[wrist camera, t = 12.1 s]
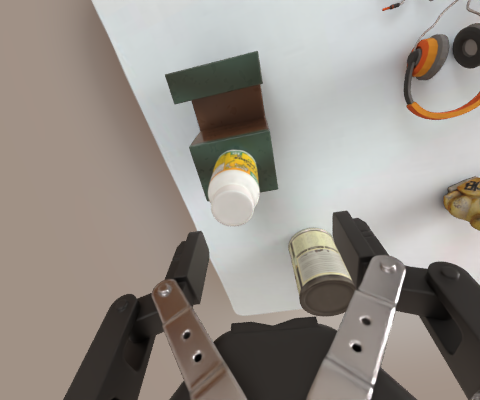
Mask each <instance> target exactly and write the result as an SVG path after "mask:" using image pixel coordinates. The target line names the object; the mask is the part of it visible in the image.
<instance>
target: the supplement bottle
mask: <svg viewBox="0 0 480 400" xmlns="http://www.w3.org/2000/svg"><path fill="white" fill-rule="evenodd" d="M259 194H260V190H259V183H258V173H257V166H256V162H255V160H254V159H253V157H252V156H251V155H250V154H248V153H247V152H245V151H242V150H229V151H226V152H224V153H223V154H222V155H221V156H220V157H219V158H218V160H217V161H216V164H215V167H214V170H213V174H212V177H211V181H210V184H209V188H208V198H209V201H210V203H211V211H212V214H213V216H214V217H215V219H216V220H217V221H218V222H220V223H222V224H224V225H227V226H239V225H242V224H244V223H246V222H248V221H249V220H250V218H251V217H252V215H253V212H254V207H255V206H256V205H257V203H258V200H259Z"/></svg>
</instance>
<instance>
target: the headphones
mask: <svg viewBox="0 0 480 400" xmlns="http://www.w3.org/2000/svg"><path fill="white" fill-rule="evenodd" d="M404 1H405V0H403V1H402V2H401V3H397V4H393V5H391V6H390V7H386V8H383V9H382V11H384V10H388V9H393V8H396V7H399V6H400V5H402V4H403V3H404ZM429 1H433V0H429ZM457 1H459V0H456V1H454V2H453V3H452V4H451V5H450V6H448V7H447V8H446V9H445V10H444V11H443V12H442V13H441V14H440V16H439V17H438V19H437V20H436V22H435V23H434V24H433V25H432V26H431V27H430V28H429V29H427V30H426V31H425V32H424V33H423V34H422V35H421V37H420V38H419V39H418V41H417V43H416V45H415V47H414V48H413V50H412V51H411V53H410V55H409V56H408V59H407V70H406V74H405V81H404V97H405V100H406V102H407V104H408V105H407V108H408V109H409V110H410V111H411V112H412V113H413V114H415V115H417V116H419V117H422V118H425V119H431V120H441V119H448V118H452V117H456V116H459V115H462V114H465V113H467V112H469V111H471V110H473V109H475V108H476V107H478V106H479V105H480V92H479V93H478V94H477V96H475V97H474V98H473V99H472V100H471V101H470V102H468V103H467V104H465V105H464V106H462V107H460V108H458V109H456V110H452V111H448V112H442V113H433V112H429V111H426V110H425V109H423V108H422V107H420V106H419V105H418V104H417V103H416V102H414V101H413V99H412V96H411V79H412V76H413V77H416V78H417V79H418V80H428V79H431V78H432V77H433V76H435V75H436V73H437V72H438V71H439V70H440V69H441V67H442V66H443V64H444V62H445V60H446V58H447V55H448V51H449V40H448V37H447V36H446V35H443V34H436V35H433V36H432V37H430V38H428V39H424V40H421V41H420V39H421V38H422V37H423V36H424V34H425V33H426V32H428V31H429V30H430V29H431V28H433V27H434V26H435V24H436V23H437V22H438V20H439V19H440V17H441V16H442V15H443V13H444V12H445V11H447V10H448V9H449V8H450V7H451V6H452V5H453V4H455V3H456V2H457ZM470 1H471V0H469V1H468V2H467V10H468V11H470V12H472V13H475V14H477V15H479V16H480V13H479V12H477V11H474V10H471V9H470V8H469V3H470ZM419 41H420V42H419ZM418 42H419V43H418ZM453 54H454V57H455V59H456V61H457V62H458V63H459V64H460V65H461V66H463V67H465V68H475V67H477V66H480V23H475V24H472V25H469V26H468V27H466V28H464V29H463V30H461V31H460V32H459V33H458V34H457V36H456V38H455V40H454V43H453Z"/></svg>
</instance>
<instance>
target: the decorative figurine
mask: <svg viewBox="0 0 480 400" xmlns="http://www.w3.org/2000/svg"><path fill="white" fill-rule="evenodd" d="M448 191H449V193H448V194H447V195H444V197H443V200H444V206H445V208H446V209H447V210H448V211H449V212H450V214H451V215H453V216H454V217H456V218H458V219H463V220H466V221H468V222H470V224H471V226H472V227H473V228H475V229H477V230H479V231H480V178H478V177H476V176H474V177H472V178H469V179H466V180H464V181H462V182H460V183H458V184H455V185H453V186H451V187H449V188H448Z"/></svg>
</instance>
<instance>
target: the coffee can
mask: <svg viewBox="0 0 480 400" xmlns="http://www.w3.org/2000/svg"><path fill="white" fill-rule="evenodd" d="M288 249H289V252H290V256H291V261H292V265H293V269H294V274H295V278H296V283H297V287H298V292H299V296H300V297H299V299H300V304H301V306H302V308H303V309H304V310H305V311H307V312H308V313H310V314H313V315H316V316H334V315H338V314H341V313H344V312H346V310H347V308H348V305H349V303H350V301H351V298H352V296H353V294H354V292H355V290H356V288H355V286H354V284H353V281H352V279H351V277H350V275H349V273H348V271H347V269H346V266H345V264H344V262H343V260H342V258H341V256H340V253H339V251H338V249H337V247H336V245H335V243H334V241H333V238H332V236H331V235H330V234H329V233H328V232H327V231H325V230H323V229H319V228H309V229H305V230H302V231H300V232H298V233H296V234H295V235H294V236H293V237H292V238H291V240H290V242H289V245H288Z"/></svg>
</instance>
